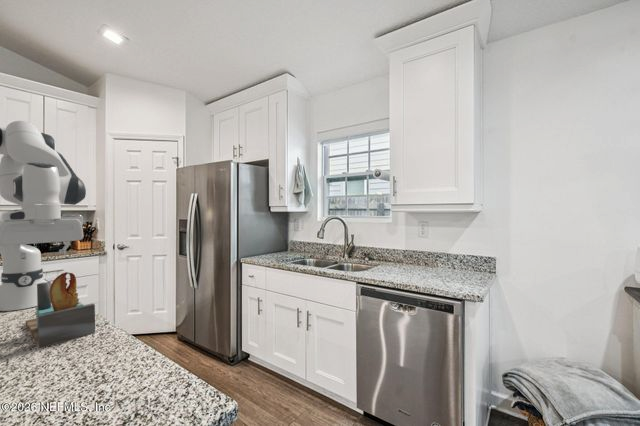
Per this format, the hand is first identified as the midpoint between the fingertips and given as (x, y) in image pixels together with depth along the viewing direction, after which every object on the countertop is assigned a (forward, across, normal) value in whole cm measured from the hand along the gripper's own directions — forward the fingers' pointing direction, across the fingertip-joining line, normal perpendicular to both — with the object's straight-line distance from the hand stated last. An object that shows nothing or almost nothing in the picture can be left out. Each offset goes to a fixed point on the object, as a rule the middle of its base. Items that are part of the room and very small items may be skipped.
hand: (43, 256), depth 94 cm
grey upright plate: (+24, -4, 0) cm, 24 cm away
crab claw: (+24, -4, +8) cm, 26 cm away
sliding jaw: (+23, -3, +2) cm, 23 cm away
